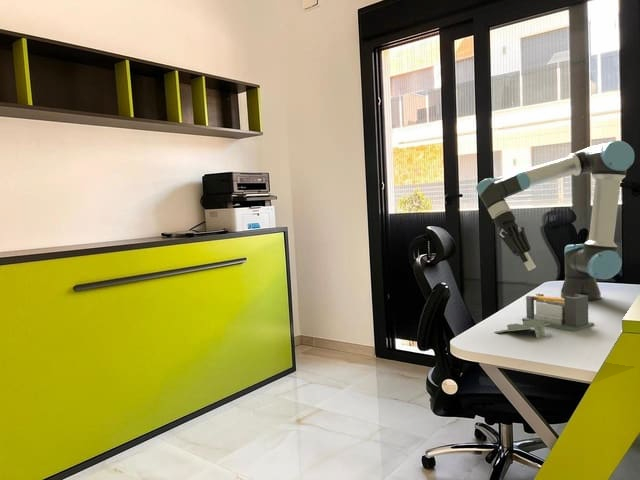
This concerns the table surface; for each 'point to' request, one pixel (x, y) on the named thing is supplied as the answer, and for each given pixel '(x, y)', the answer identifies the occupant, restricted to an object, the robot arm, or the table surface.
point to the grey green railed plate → (561, 325)
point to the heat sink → (546, 310)
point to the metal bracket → (528, 327)
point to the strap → (548, 298)
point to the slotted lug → (576, 310)
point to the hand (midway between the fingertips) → (532, 268)
